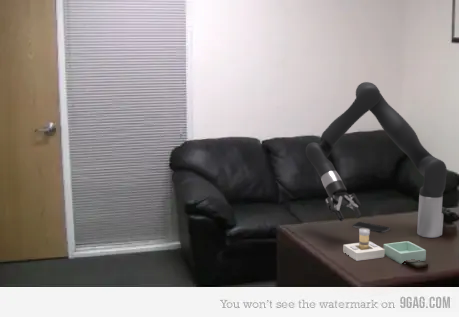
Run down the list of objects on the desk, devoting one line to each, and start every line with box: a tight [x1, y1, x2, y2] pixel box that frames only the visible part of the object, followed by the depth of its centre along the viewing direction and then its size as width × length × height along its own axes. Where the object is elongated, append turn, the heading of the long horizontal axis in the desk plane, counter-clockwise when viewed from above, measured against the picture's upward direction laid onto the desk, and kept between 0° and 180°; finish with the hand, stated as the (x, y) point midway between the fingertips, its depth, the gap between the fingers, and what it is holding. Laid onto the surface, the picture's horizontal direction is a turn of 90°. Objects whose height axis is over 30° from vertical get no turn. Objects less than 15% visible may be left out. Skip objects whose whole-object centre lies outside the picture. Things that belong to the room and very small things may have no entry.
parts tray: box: [383, 240, 427, 265], centre depth 215 cm, size 11×11×4 cm
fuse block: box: [342, 241, 385, 262], centre depth 218 cm, size 12×10×3 cm
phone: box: [352, 221, 391, 234], centre depth 251 cm, size 8×1×15 cm
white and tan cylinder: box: [358, 228, 371, 250], centre depth 218 cm, size 4×4×10 cm
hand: (350, 218), depth 223 cm, fingers open, 8 cm apart
